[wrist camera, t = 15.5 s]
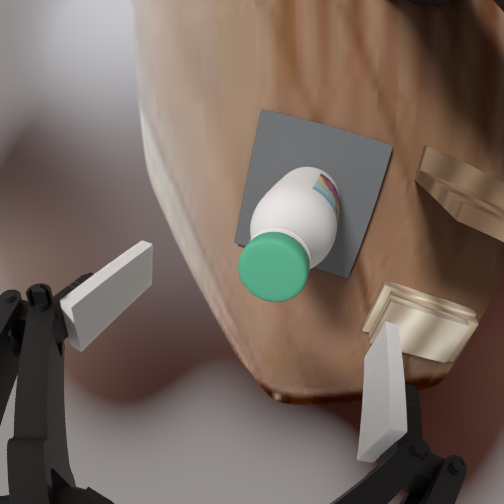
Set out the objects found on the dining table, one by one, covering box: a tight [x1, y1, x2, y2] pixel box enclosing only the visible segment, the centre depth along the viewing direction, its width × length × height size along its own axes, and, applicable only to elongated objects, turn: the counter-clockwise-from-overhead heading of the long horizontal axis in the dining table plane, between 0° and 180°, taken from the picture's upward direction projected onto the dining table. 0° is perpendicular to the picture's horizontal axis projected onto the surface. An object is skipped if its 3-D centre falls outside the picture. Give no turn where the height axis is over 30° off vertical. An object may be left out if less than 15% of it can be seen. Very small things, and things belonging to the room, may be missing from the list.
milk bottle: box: [238, 167, 340, 302], centre depth 28 cm, size 8×8×20 cm
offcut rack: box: [362, 146, 504, 363], centre depth 29 cm, size 18×26×16 cm
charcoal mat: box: [234, 109, 393, 278], centre depth 37 cm, size 16×18×1 cm
